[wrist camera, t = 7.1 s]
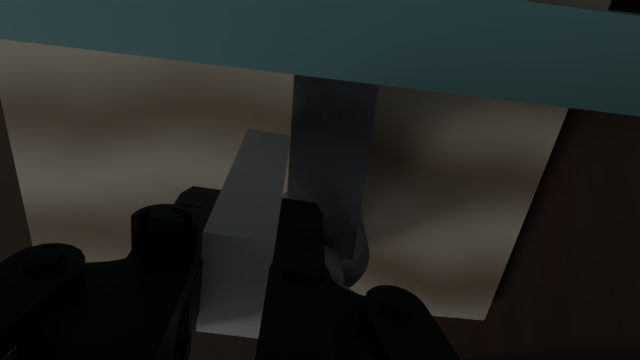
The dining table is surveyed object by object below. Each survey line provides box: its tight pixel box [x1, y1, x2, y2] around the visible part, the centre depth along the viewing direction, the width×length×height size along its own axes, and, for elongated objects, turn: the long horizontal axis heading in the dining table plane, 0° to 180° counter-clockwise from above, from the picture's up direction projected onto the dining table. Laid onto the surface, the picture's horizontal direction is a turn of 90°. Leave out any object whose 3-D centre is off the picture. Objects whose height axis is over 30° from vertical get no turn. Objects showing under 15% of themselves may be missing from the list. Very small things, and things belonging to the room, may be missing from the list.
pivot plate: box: [0, 0, 612, 320], centre depth 17 cm, size 20×25×9 cm
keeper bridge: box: [0, 0, 640, 116], centre depth 15 cm, size 2×26×8 cm, turn 83°
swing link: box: [282, 75, 379, 288], centre depth 17 cm, size 15×4×3 cm, turn 175°
